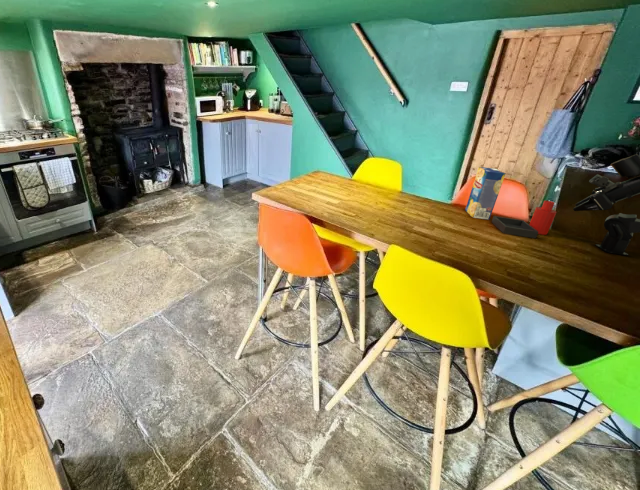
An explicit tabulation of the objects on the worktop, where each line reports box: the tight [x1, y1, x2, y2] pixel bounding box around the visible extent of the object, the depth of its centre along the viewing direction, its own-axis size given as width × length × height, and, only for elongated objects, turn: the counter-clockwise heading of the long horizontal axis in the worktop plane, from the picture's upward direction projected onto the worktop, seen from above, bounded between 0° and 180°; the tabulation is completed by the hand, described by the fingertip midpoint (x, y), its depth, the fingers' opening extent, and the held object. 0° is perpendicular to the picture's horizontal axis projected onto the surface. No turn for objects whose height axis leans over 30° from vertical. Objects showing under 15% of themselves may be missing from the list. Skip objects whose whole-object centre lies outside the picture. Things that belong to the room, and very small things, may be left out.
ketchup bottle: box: [528, 200, 558, 236], centre depth 126 cm, size 6×6×14 cm
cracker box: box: [464, 166, 507, 221], centre depth 141 cm, size 7×11×22 cm, turn 162°
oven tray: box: [491, 215, 539, 239], centre depth 128 cm, size 13×11×3 cm
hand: (574, 207), depth 119 cm, fingers open, 9 cm apart
